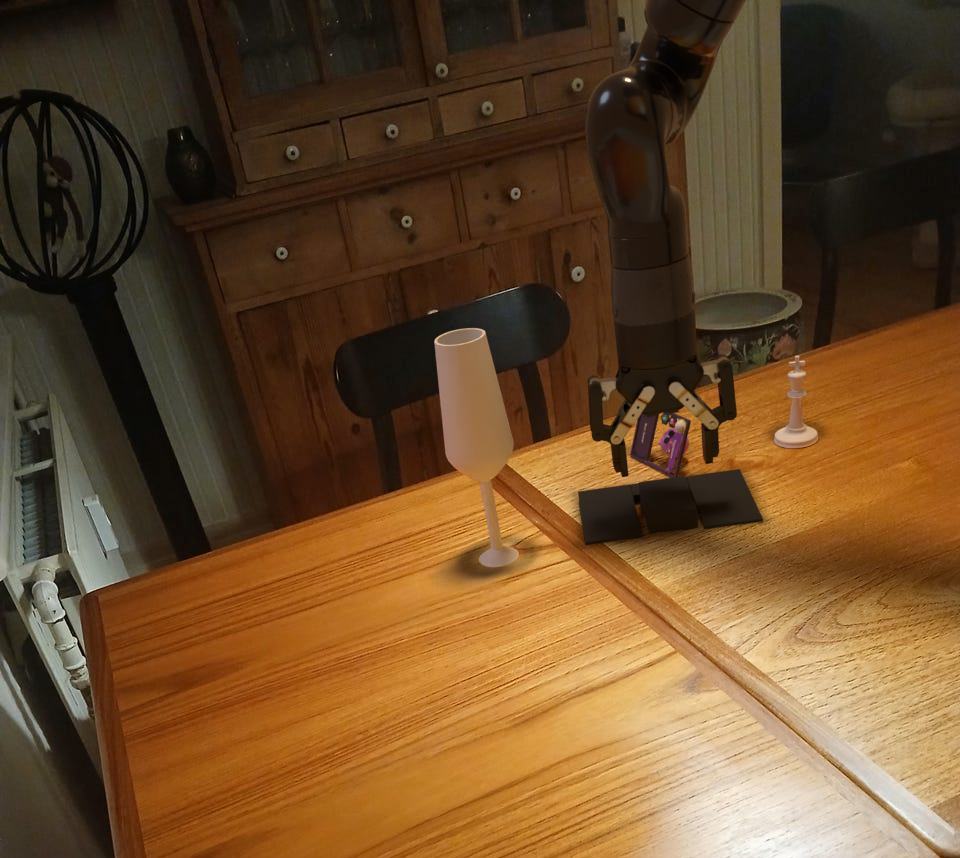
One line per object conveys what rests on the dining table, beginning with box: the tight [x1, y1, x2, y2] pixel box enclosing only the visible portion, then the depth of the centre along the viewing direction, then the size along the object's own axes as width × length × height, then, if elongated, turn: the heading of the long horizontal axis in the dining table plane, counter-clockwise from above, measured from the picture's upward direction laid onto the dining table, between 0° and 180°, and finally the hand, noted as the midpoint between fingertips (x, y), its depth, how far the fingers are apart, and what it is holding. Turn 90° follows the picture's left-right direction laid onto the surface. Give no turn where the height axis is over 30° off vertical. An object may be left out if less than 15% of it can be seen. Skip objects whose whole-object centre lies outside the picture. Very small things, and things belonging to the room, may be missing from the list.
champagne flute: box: [433, 327, 520, 568], centre depth 96 cm, size 7×7×24 cm
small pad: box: [638, 475, 699, 535], centre depth 104 cm, size 5×8×3 cm, turn 179°
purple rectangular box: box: [629, 413, 692, 478], centre depth 115 cm, size 7×5×9 cm
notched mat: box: [577, 468, 764, 546], centre depth 105 cm, size 18×12×1 cm, turn 89°
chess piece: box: [773, 355, 819, 449], centre depth 113 cm, size 5×5×10 cm
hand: (665, 467), depth 101 cm, fingers open, 8 cm apart
